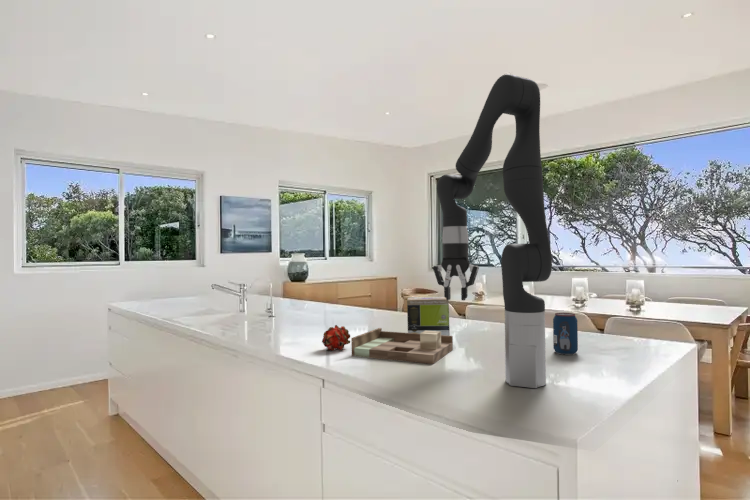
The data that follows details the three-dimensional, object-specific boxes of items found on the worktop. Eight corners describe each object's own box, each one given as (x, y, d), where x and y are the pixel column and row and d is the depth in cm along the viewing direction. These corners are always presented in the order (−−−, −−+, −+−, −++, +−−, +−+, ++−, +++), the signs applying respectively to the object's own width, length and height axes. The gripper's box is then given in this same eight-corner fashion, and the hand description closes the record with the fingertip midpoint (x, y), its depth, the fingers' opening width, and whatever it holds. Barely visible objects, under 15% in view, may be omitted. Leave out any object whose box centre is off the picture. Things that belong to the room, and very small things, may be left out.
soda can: (570, 350, 146) (569, 312, 146) (582, 354, 139) (582, 315, 139) (549, 350, 145) (548, 312, 145) (560, 355, 138) (560, 315, 138)
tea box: (448, 335, 174) (447, 296, 174) (449, 340, 164) (449, 299, 164) (408, 335, 175) (407, 296, 175) (407, 340, 165) (406, 299, 165)
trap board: (433, 363, 130) (433, 344, 130) (351, 356, 141) (351, 338, 141) (452, 349, 148) (452, 332, 148) (379, 343, 159) (378, 327, 159)
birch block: (436, 349, 137) (436, 334, 137) (420, 348, 140) (420, 333, 140) (441, 346, 142) (441, 331, 142) (425, 345, 144) (425, 330, 144)
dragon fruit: (349, 351, 156) (328, 363, 146) (331, 334, 159) (309, 346, 149) (360, 332, 152) (339, 344, 142) (341, 316, 155) (319, 326, 145)
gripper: (428, 242, 137) (429, 300, 137) (476, 241, 131) (477, 302, 131) (436, 242, 144) (436, 298, 144) (482, 241, 138) (482, 299, 138)
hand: (456, 299), depth 137 cm, fingers open, 4 cm apart
